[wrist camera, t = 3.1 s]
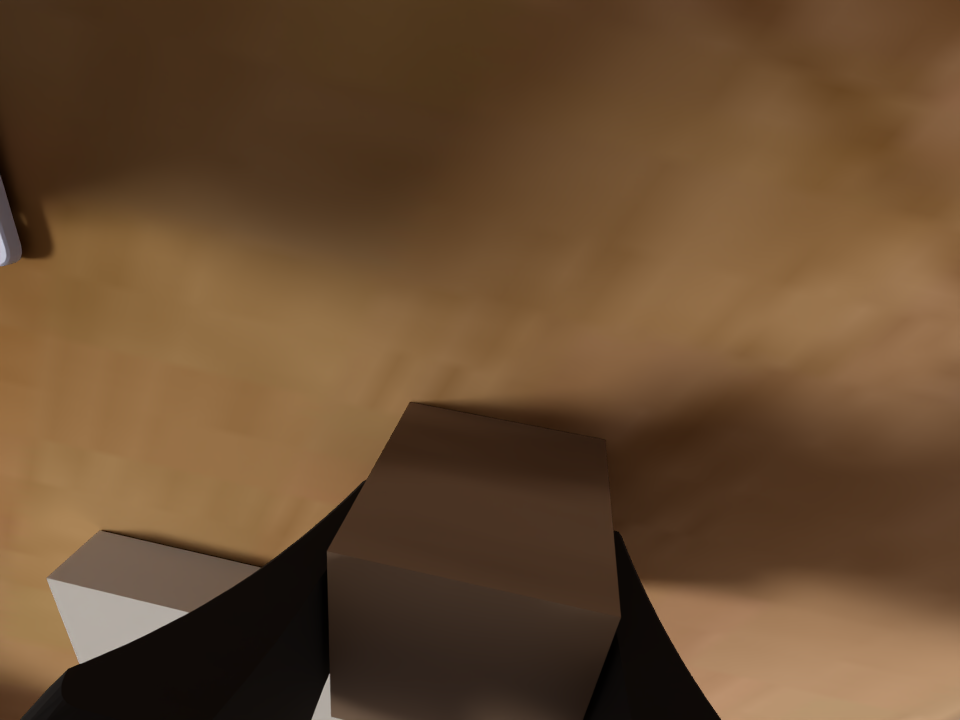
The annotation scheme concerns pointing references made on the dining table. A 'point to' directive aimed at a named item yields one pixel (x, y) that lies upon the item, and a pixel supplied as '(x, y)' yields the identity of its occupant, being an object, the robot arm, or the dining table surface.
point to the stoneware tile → (139, 593)
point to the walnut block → (473, 574)
